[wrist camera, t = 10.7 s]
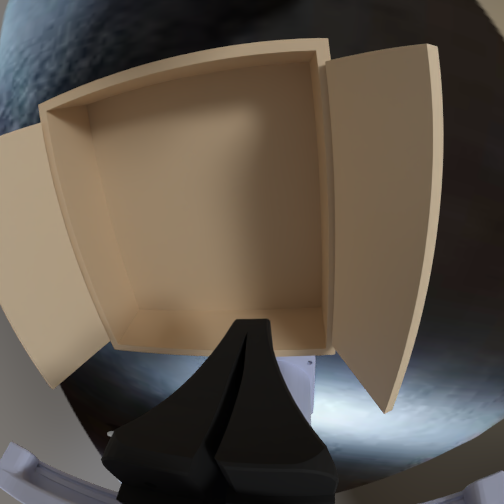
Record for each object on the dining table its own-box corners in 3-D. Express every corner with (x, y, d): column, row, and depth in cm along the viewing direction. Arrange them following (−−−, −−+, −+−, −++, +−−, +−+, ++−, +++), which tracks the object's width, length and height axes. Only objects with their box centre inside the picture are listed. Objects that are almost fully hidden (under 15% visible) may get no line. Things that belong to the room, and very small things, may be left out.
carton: (328, 308, 23) (334, 354, 19) (138, 310, 26) (114, 349, 21) (317, 54, 15) (327, 38, 11) (84, 99, 18) (38, 104, 13)
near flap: (331, 344, 18) (338, 341, 18) (384, 413, 13) (392, 409, 13) (325, 61, 11) (334, 61, 11) (426, 43, 6) (437, 46, 6)
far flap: (41, 122, 14) (38, 124, 14) (-49, 156, 9) (-50, 157, 9) (110, 340, 21) (106, 338, 21) (52, 389, 16) (49, 386, 16)
